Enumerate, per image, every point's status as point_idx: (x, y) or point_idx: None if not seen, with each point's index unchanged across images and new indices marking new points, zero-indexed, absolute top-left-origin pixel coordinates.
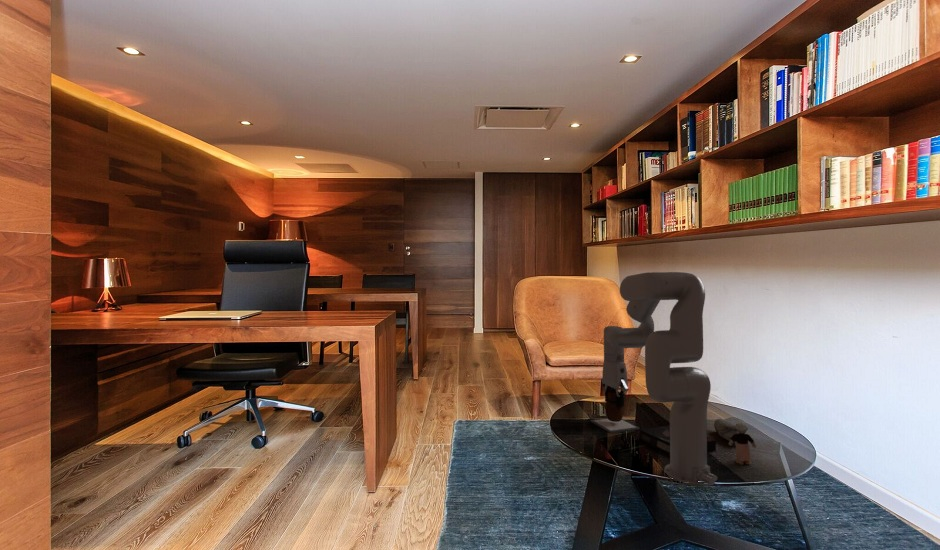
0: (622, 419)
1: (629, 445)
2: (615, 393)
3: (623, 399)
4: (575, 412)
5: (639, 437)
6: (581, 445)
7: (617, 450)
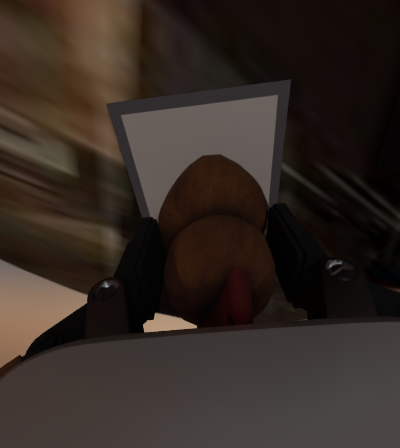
0: (153, 101)
1: (381, 223)
2: (261, 308)
3: (305, 233)
4: (43, 246)
5: (386, 170)
6: (305, 313)
7: (379, 265)
